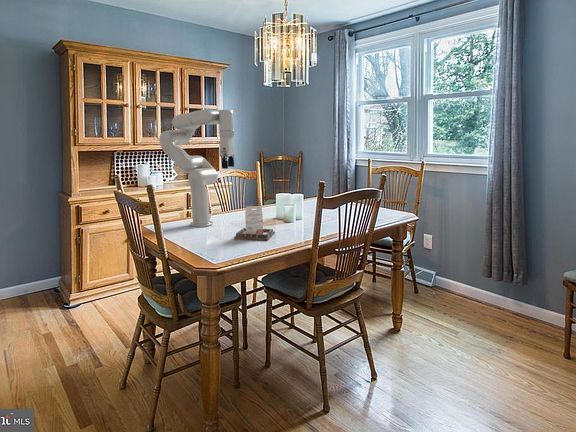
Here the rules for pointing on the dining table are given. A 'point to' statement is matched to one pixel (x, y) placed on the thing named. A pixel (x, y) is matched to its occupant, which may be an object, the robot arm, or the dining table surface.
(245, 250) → the dining table surface
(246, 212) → the ink cartridge box
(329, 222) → the dining table surface
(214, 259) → the dining table surface
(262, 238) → the dock
